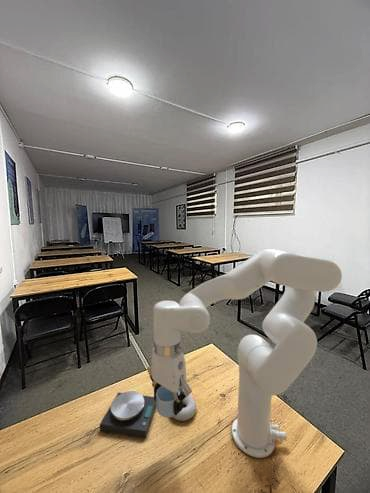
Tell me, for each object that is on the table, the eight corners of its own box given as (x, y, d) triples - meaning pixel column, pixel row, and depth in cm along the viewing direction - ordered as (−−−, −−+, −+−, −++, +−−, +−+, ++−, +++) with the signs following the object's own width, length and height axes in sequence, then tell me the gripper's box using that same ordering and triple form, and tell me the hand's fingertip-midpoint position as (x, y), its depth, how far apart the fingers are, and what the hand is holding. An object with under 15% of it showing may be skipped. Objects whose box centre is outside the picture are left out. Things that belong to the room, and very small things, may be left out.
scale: (157, 403, 77) (157, 396, 76) (145, 438, 64) (146, 430, 64) (118, 398, 79) (118, 391, 78) (99, 431, 66) (99, 423, 66)
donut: (164, 420, 70) (193, 426, 68) (164, 411, 70) (193, 416, 68) (172, 397, 80) (198, 401, 78) (172, 388, 80) (198, 392, 78)
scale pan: (148, 395, 76) (148, 392, 76) (137, 422, 65) (137, 420, 65) (119, 391, 77) (119, 389, 77) (104, 417, 66) (104, 415, 66)
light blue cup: (181, 399, 63) (181, 385, 63) (177, 419, 57) (177, 403, 56) (159, 396, 64) (159, 383, 64) (153, 416, 58) (153, 401, 57)
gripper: (200, 350, 57) (200, 411, 58) (155, 331, 67) (156, 383, 69) (183, 364, 51) (183, 432, 52) (136, 341, 61) (138, 398, 63)
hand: (168, 404), depth 60 cm, fingers closed on light blue cup, 7 cm apart
